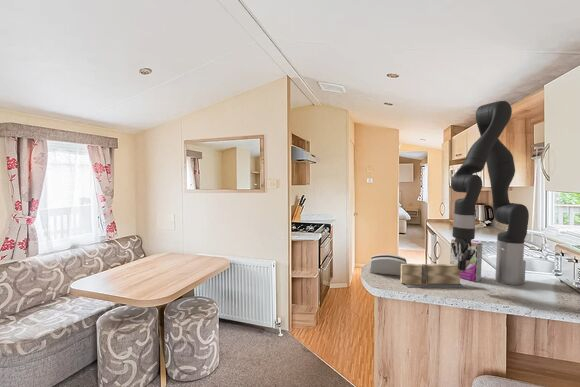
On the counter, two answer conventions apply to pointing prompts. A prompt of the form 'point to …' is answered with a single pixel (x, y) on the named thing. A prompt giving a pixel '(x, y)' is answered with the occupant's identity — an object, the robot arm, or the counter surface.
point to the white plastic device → (386, 264)
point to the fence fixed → (413, 273)
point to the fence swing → (443, 274)
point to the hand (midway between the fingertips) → (461, 269)
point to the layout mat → (432, 285)
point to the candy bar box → (470, 263)
